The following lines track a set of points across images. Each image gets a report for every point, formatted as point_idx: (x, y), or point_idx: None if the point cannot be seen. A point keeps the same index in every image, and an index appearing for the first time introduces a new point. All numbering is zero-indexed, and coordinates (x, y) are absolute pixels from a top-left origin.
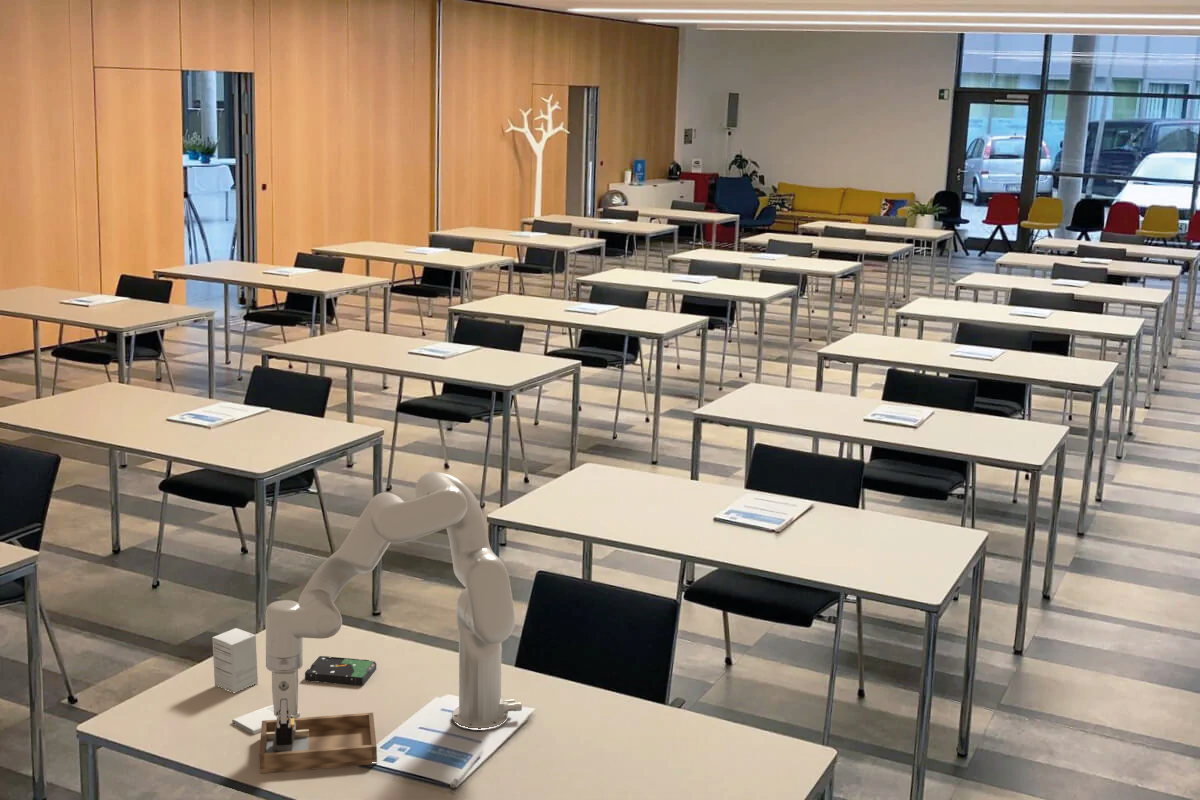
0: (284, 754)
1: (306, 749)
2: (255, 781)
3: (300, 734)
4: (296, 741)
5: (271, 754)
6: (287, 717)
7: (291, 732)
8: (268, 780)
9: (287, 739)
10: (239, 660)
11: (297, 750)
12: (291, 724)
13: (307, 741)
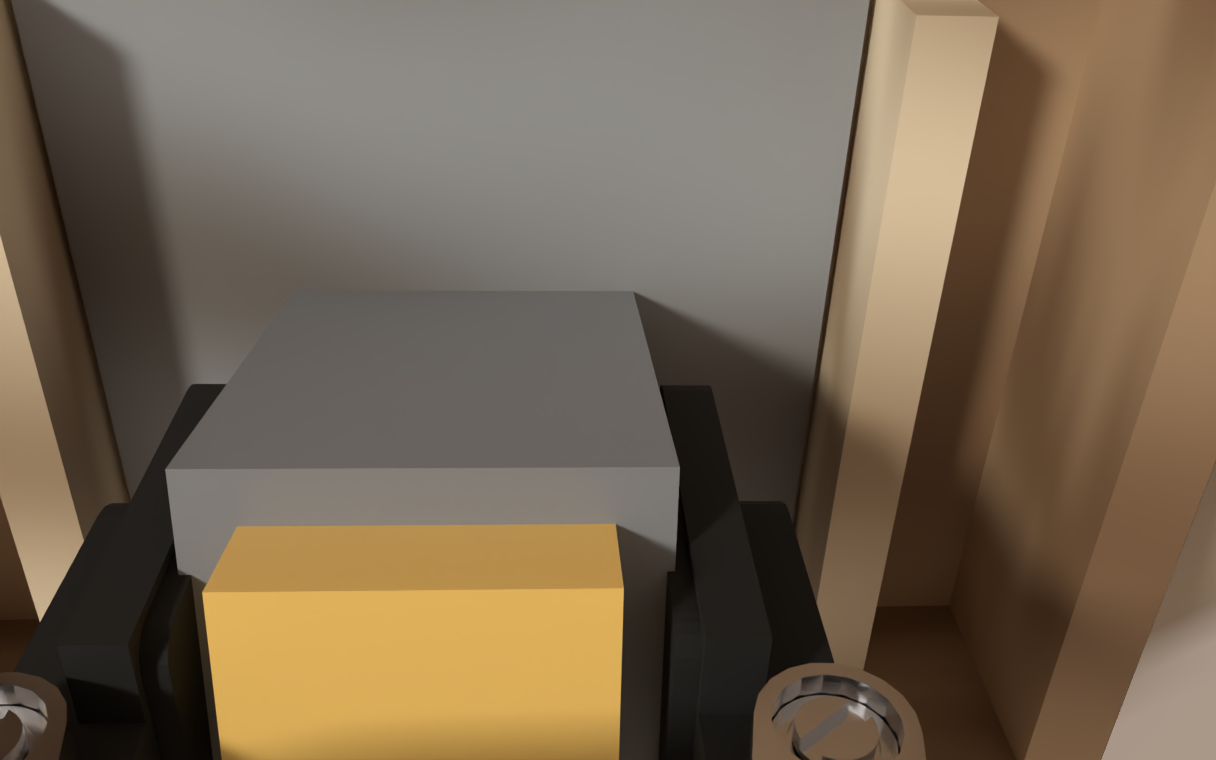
0: (1185, 509)
1: (590, 29)
2: (1151, 636)
3: (13, 159)
4: (229, 212)
5: (1110, 687)
6: (154, 741)
7: (743, 544)
8: (1200, 514)
9: (790, 531)
10: None
11: (596, 195)
12: (618, 656)
13: (236, 3)
